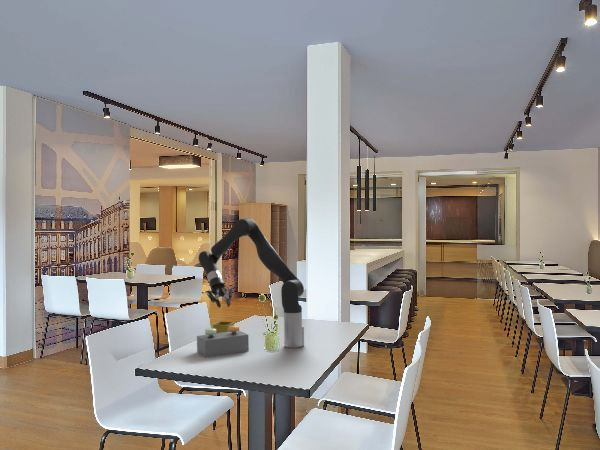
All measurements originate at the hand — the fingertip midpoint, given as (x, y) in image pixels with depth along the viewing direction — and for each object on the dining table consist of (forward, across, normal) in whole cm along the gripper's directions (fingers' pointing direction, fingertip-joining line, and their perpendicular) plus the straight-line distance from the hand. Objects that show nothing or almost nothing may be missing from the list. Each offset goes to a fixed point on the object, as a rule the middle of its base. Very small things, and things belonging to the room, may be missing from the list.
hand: (224, 306), depth 248 cm
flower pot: (+6, +4, +23) cm, 24 cm away
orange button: (+17, 0, 0) cm, 17 cm away
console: (+23, -6, +6) cm, 24 cm away
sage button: (+17, -12, 0) cm, 21 cm away
